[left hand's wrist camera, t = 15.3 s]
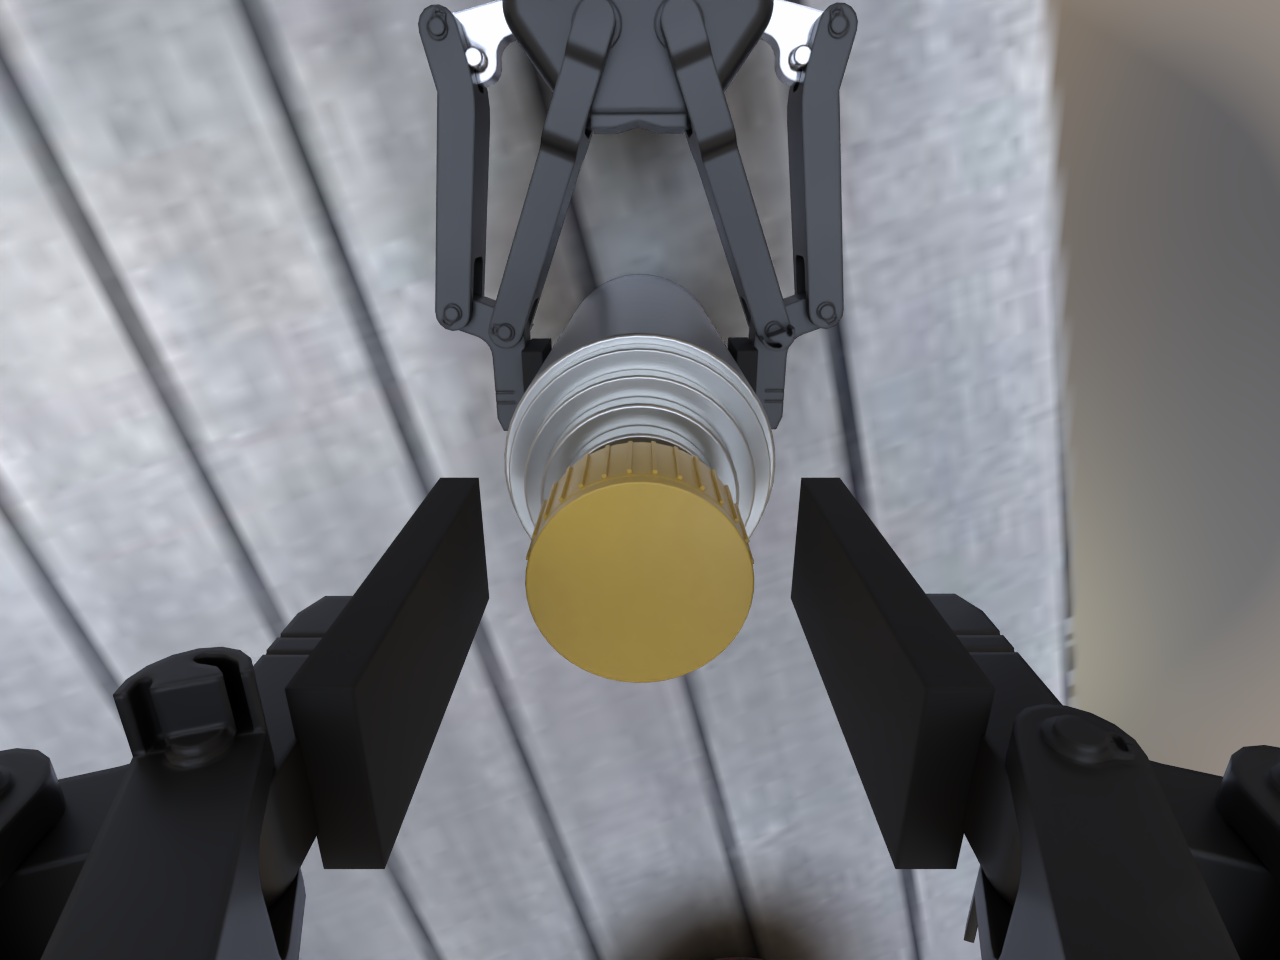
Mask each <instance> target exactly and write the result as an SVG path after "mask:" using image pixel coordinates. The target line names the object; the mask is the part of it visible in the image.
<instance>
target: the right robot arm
mask: <svg viewBox="0 0 1280 960" xmlns="http://www.w3.org/2000/svg"><path fill="white" fill-rule="evenodd" d="M857 24H858V20H857V16H856V13H855V11H854V10H853V8H852V7H851V6H849V5H847V4H846V3H835V4H833V5H830V6H829V7H828V8H827V9H826V10H825V11H821V10H817V9H814V8H810V7H806V6H803V5H799V4H795V3H792V2H788V1H784V0H496V1H493V2H489V3H486V4H482V5H479V6H475V7H472V8H468V9H465V10H461V11H458V12H454V13H451V12H450V11H449V10H448V9H447V8H446V7H443V6H441V5H430V6H429V7H427V8H425V9H424V10H423V12H422V13H421V15H420V18H419V22H418V26H419V33H420V36H421V40H422V43H423V46H424V50H425V53H426V56H427V59H428V63H429V66H430V69H431V73H432V76H433V79H434V82H435V86H436V89H437V190H436V294H435V313H436V318H437V320H438V322H439V323H440V325H442V326H443V327H444V328H445V329H448V330H451V331H455V330H460V331H463V332H466V333H469V334H471V335H474V336H477V337H479V338H481V339H483V340H484V341H485V342H486V343H487V344H488V345H489V347H490V349H491V351H492V355H493V365H494V378H495V390H496V402H497V415H498V420H499V422H500V424H501V426H502V428H503V430H504V431H508V430H509V426H510V422H511V420H512V417H513V415H514V412H515V410H516V408H517V405H518V404H519V402H520V400H521V399H522V397H523V395H524V394H525V392H526V390H527V389H528V387H529V385H530V384H531V382H532V381H533V379H534V377H535V376H536V374H537V373H538V371H539V369H540V368H541V366H542V364H543V363H544V361H545V360H546V358H547V356H548V355H549V353H550V352H551V350H552V346H551V338H550V339H531V340H530V330H531V328H532V326H533V325H534V324H532V322H533V319H534V316H535V313H536V309H537V306H538V303H539V300H540V297H541V293H542V290H543V287H544V284H545V280H546V277H547V274H548V271H549V267H550V264H551V261H552V258H553V255H554V251H555V248H556V245H557V242H558V238H559V235H560V232H561V229H562V225H563V222H564V219H565V216H566V213H567V209H568V206H569V203H570V200H571V196H572V193H573V190H574V187H575V183H576V180H577V177H578V174H579V171H580V167H581V165H582V162H583V160H584V158H585V155H586V152H587V149H588V146H589V143H590V139H591V136H592V133H593V132H594V134H618V133H621V132H624V131H628V130H631V129H634V128H638V127H639V128H643V129H647V130H650V131H654V132H657V133H661V134H683V132H684V131H685V134H686V137H687V140H688V143H689V146H690V149H691V152H692V155H693V158H694V160H695V162H696V164H697V167H698V170H699V174H700V177H701V180H702V183H703V186H704V189H705V192H706V195H707V198H708V202H709V205H710V208H711V211H712V214H713V217H714V220H715V223H716V226H717V230H718V233H719V236H720V239H721V242H722V245H723V248H724V251H725V254H726V258H727V261H728V264H729V267H730V270H731V273H732V276H733V279H734V283H735V286H736V289H737V292H738V295H739V298H740V301H741V304H742V307H743V311H744V314H745V317H746V320H747V323H748V326H749V339H748V337H747V338H728V350H729V352H730V354H731V355H732V357H733V358H734V360H735V362H736V363H737V365H738V366H739V368H740V370H741V371H742V373H743V375H744V376H745V378H746V379H747V381H748V383H749V384H750V386H751V387H752V389H753V391H754V392H755V394H756V396H757V397H758V399H759V400H760V402H761V405H762V407H763V409H764V411H765V413H766V415H767V418H768V421H769V424H770V427H771V429H776V428H777V426H778V424H779V422H780V420H781V418H782V413H783V399H784V385H785V370H786V356H787V350H788V348H789V346H790V345H791V344H792V343H793V341H794V339H796V338H797V337H799V336H801V335H803V334H805V333H808V332H811V331H814V330H816V329H819V328H824V329H827V328H831V327H833V326H835V325H836V324H837V323H838V322H839V321H840V319H841V318H842V316H843V310H844V306H843V255H842V205H841V154H840V103H839V89H840V86H841V82H842V79H843V76H844V72H845V69H846V65H847V62H848V59H849V55H850V52H851V48H852V45H853V41H854V38H855V35H856V31H857ZM759 39H762V40H764V41H766V42H767V43H768V44H769V45H770V46H771V47H772V49H773V51H774V55H775V72H776V75H777V77H778V79H779V80H780V81H781V82H782V83H784V84H786V85H789V86H790V89H789V96H788V105H787V127H788V150H789V173H790V196H791V219H792V241H793V264H794V287H795V295H793V296H790V297H787V298H785V299H783V297H782V294H781V291H780V287H779V284H778V281H777V277H776V274H775V271H774V267H773V264H772V261H771V257H770V254H769V251H768V247H767V244H766V241H765V237H764V234H763V231H762V227H761V224H760V221H759V217H758V214H757V211H756V207H755V204H754V201H753V197H752V194H751V191H750V187H749V184H748V181H747V177H746V174H745V171H744V167H743V164H742V161H741V157H740V154H739V151H738V147H737V141H736V134H735V130H734V126H733V122H732V119H731V116H730V112H729V109H728V106H727V102H726V99H725V96H724V91H725V90H726V88H727V87H728V85H729V84H730V82H731V81H732V79H733V78H734V76H735V75H736V73H737V72H738V70H739V69H740V67H741V66H742V64H743V63H744V61H745V60H746V58H747V57H748V56H749V54H750V53H751V51H752V50H753V48H754V47H755V45H756V44H757V42H758V41H759ZM515 40H517V41H518V43H519V44H520V46H521V47H522V49H523V50H524V52H525V53H526V54H527V56H528V57H529V59H530V60H531V62H532V63H533V65H534V66H535V68H536V69H537V70H538V72H539V73H540V75H541V76H542V78H543V79H544V81H545V82H546V84H547V85H548V86H549V88H550V89H551V91H552V92H553V96H552V100H551V103H550V107H549V110H548V114H547V117H546V120H545V124H544V128H543V132H542V137H541V145H540V150H539V153H538V157H537V160H536V164H535V167H534V171H533V174H532V178H531V181H530V185H529V188H528V192H527V195H526V198H525V202H524V205H523V209H522V212H521V216H520V219H519V223H518V226H517V230H516V233H515V237H514V240H513V244H512V247H511V251H510V254H509V257H508V261H507V264H506V268H505V271H504V275H503V278H502V282H501V285H500V289H499V292H498V296H497V299H496V301H495V300H493V299H490V298H487V297H484V284H485V255H486V225H487V195H488V166H489V136H490V107H489V98H488V91H487V87H489V86H491V85H494V84H495V83H496V82H497V81H498V80H499V78H500V76H501V72H502V54H503V51H504V49H505V47H506V46H507V45H508V44H509V43H511V42H513V41H515Z"/></svg>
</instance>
